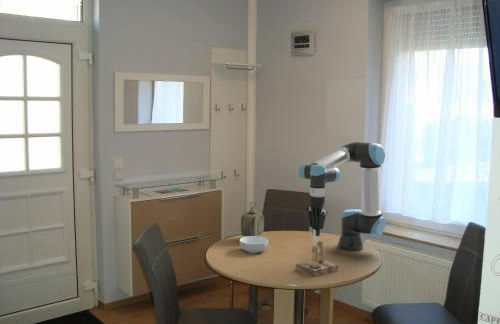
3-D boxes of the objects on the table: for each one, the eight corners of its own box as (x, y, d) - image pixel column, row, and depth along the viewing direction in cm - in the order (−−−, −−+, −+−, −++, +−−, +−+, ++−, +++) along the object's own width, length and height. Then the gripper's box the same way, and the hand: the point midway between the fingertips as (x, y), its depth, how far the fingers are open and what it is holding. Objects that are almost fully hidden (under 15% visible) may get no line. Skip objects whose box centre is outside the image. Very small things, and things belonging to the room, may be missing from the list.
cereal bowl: (236, 248, 298) (236, 236, 297) (262, 246, 303) (262, 235, 302) (244, 256, 282) (244, 244, 281) (272, 254, 287) (272, 242, 286)
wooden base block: (320, 263, 271) (321, 238, 269) (338, 270, 260) (339, 244, 258) (295, 269, 260) (296, 243, 259) (312, 277, 250) (313, 249, 248)
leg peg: (315, 271, 258) (315, 245, 256) (319, 273, 255) (320, 246, 253) (309, 272, 256) (310, 246, 254) (314, 275, 253) (315, 248, 251)
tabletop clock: (252, 237, 322) (252, 199, 319) (264, 239, 318) (265, 200, 315) (240, 242, 310) (240, 203, 307) (253, 245, 305) (253, 204, 302)
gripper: (302, 194, 254) (301, 239, 257) (320, 198, 243) (319, 245, 246) (313, 193, 258) (312, 237, 261) (331, 197, 248) (330, 243, 250)
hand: (315, 241), depth 254 cm, fingers closed
